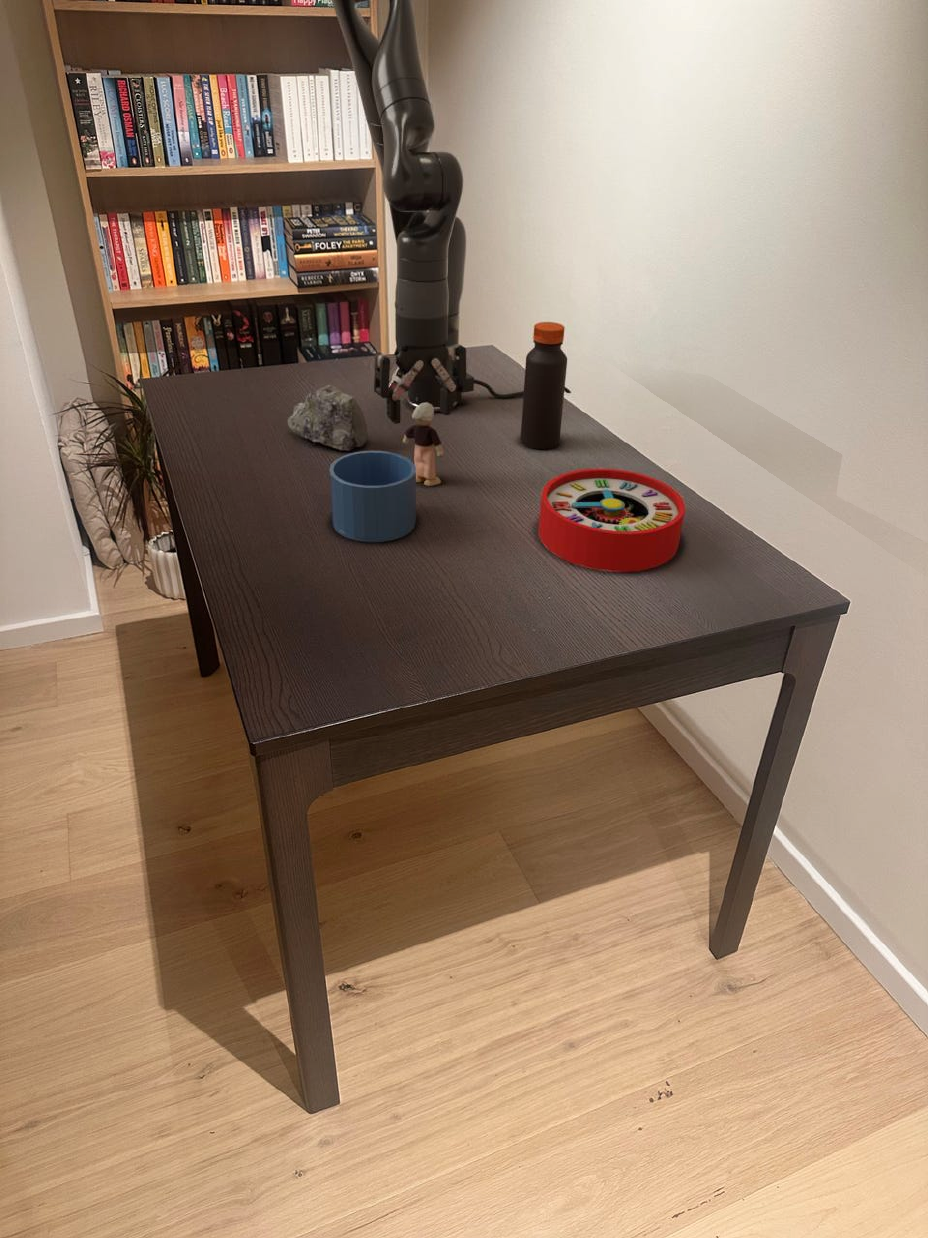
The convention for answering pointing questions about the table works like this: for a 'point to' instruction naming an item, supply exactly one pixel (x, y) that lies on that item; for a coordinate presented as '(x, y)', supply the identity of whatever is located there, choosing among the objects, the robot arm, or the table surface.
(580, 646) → the table surface
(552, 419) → the bottle
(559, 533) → the toy clock
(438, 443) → the grandmother figurine
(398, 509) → the bowl
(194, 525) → the table surface
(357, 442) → the mineral rock
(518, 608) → the table surface
